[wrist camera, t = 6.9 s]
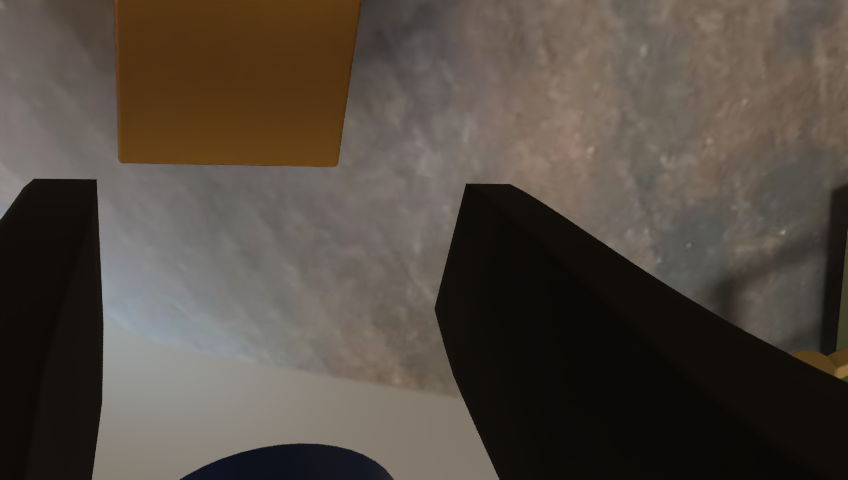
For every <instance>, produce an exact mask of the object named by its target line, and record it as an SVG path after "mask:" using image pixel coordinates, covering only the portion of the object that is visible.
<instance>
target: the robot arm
mask: <svg viewBox="0 0 848 480" xmlns="http://www.w3.org/2000/svg"><path fill="white" fill-rule="evenodd" d="M435 312H436V316H437V320H438V324H439V328H440V331H441V335H442V339H443V343H444V346H445V349H446V353H447V356H448V359H449V363H450V366H451V369H452V373H453V376H454V378H455V380H456V383H457V385H458V388H459V390H460V392H461V395H462V397H463V399H464V401H465V404H466V406H467V408H468V410H469V413H470V415H471V417H472V419H473V421H474V424H475V426H476V429H477V431H478V433H479V435H480V437H481V440H482V442H483V444H484V446H485V448H486V451H487V453H488V455H489V457H490V459H491V462H492V464H493V466H494V468H495V471H496V473H497V475H498V477H499V480H848V382H846V381H844V380H842V379H839V378H837V377H835V376H833V375H831V374H829V373H827V372H824V371H822V370H820V369H818V368H816V367H814V366H812V365H810V364H808V363H806V362H804V361H802V360H800V359H798V358H796V357H794V356H792V355H790V354H788V353H786V352H784V351H782V350H780V349H778V348H776V347H774V346H772V345H771V344H769V343H767V342H765V341H763V340H761V339H759V338H757V337H755V336H753V335H751V334H749V333H747V332H746V331H744V330H742V329H740V328H738V327H737V326H735V325H733V324H731V323H729V322H728V321H726V320H724V319H722V318H721V317H719V316H717V315H716V314H714V313H712V312H711V311H709V310H707V309H706V308H704V307H702V306H701V305H699V304H697V303H696V302H694V301H692V300H691V299H689V298H687V297H686V296H684V295H682V294H681V293H679V292H677V291H676V290H674V289H672V288H671V287H669V286H668V285H666V284H665V283H663V282H661V281H660V280H658V279H657V278H655V277H654V276H652V275H650V274H649V273H647V272H646V271H644V270H643V269H641V268H640V267H638V266H637V265H635V264H633V263H632V262H630V261H629V260H627V259H626V258H624V257H623V256H621V255H620V254H618V253H617V252H615V251H614V250H612V249H611V248H609V247H608V246H607V245H605V244H604V243H602V242H601V241H599V240H598V239H596V238H595V237H593V236H592V235H590V234H589V233H587V232H586V231H584V230H583V229H581V228H580V227H578V226H577V225H575V224H574V223H572V222H571V221H569V220H568V219H567V218H565V217H564V216H562V215H561V214H559V213H558V212H556V211H554V210H553V209H551V208H550V207H548V206H547V205H545V204H544V203H542V202H541V201H539V200H537V199H536V198H534V197H532V196H531V195H529V194H527V193H526V192H524V191H522V190H520V189H518V188H516V187H515V186H513V185H511V184H466V187H465V190H464V194H463V198H462V202H461V206H460V210H459V214H458V218H457V222H456V226H455V230H454V234H453V238H452V242H451V246H450V250H449V254H448V258H447V261H446V265H445V269H444V273H443V277H442V281H441V285H440V289H439V293H438V297H437V301H436V305H435ZM102 378H103V304H102V283H101V262H100V241H99V219H98V198H97V179H33V180H32V181H31V182H30V183H29V184H27V185H26V186H25V187H24V188H23V189H22V190H21V192H20V193H19V195H18V196H17V198H16V199H15V201H14V202H13V203H12V205H11V206H10V208H9V209H8V210H7V212H6V213H5V214H4V216H3V217H2V218H1V220H0V480H92V474H93V466H94V459H95V451H96V444H97V437H98V428H99V422H100V413H101V406H102Z"/></svg>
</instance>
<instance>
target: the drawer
mask: <svg viewBox="0 0 848 480" xmlns="http://www.w3.org/2000/svg"><path fill="white" fill-rule="evenodd" d="M792 356H794V357H796V358H798V359H800V360H802V361H804V362H806V363H808V364H810V365H812V366H814V367H816V368H818V369H820V370H822V371H824V372H827V373H829V374H831V375H833V376H835V377H837V378H839V379H842V380H844V381H846V382H848V229H847V240H846V250H845V261H844V271H843V282H842V292H841V303H840V313H839V324H838V334H837V345H836V352H834V353H832V354H830V355H827V356H825V355H823V354H821V353H819V352H816V351H809V350H805V351H799V352H796V353H793V354H792Z"/></svg>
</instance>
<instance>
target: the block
mask: <svg viewBox="0 0 848 480" xmlns="http://www.w3.org/2000/svg"><path fill="white" fill-rule="evenodd" d="M361 2H362V0H114V25H115V59H116V94H117V129H118V159H119V161H120V162H121V163H149V164H204V165H259V166H314V167H336V166H337V164H338V159H339V152H340V145H341V138H342V131H343V124H344V118H345V111H346V104H347V97H348V90H349V84H350V77H351V70H352V63H353V56H354V49H355V43H356V36H357V29H358V22H359V15H360V8H361Z"/></svg>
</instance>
